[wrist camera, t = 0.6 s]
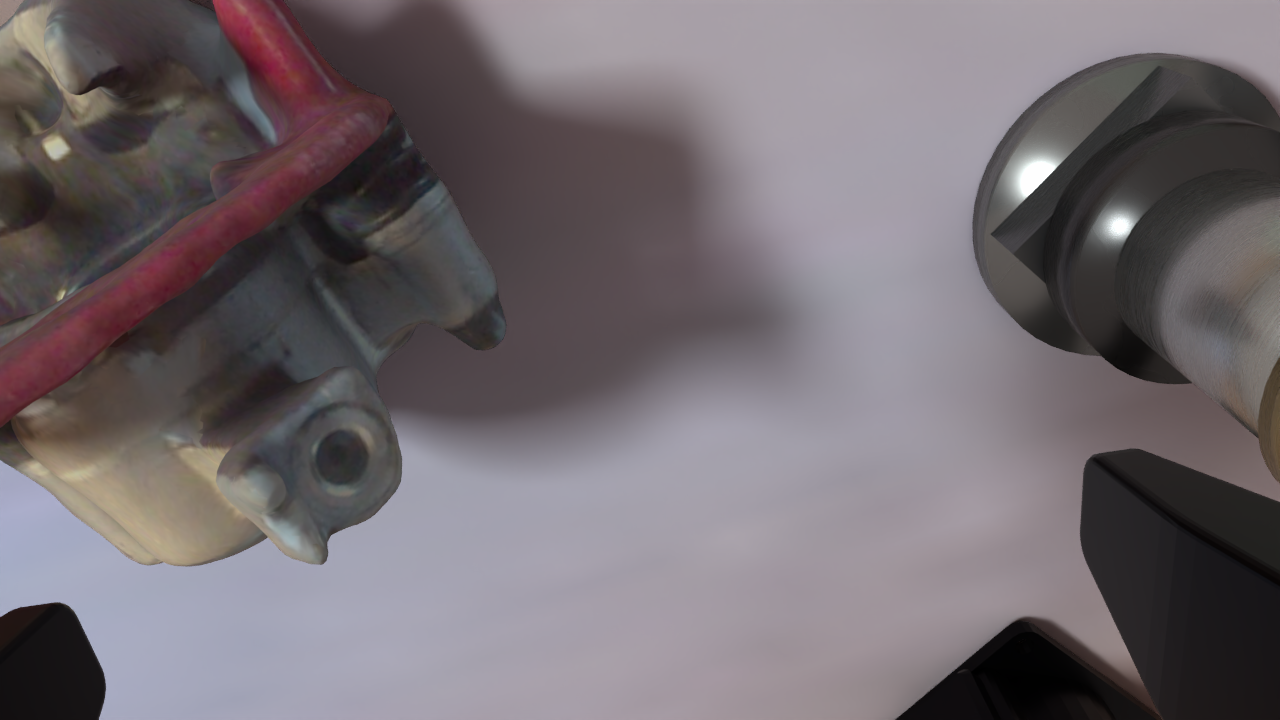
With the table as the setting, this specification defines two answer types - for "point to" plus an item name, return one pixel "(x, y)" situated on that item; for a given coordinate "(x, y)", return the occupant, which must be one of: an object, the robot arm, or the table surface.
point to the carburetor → (211, 275)
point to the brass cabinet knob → (1179, 260)
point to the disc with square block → (1080, 166)
